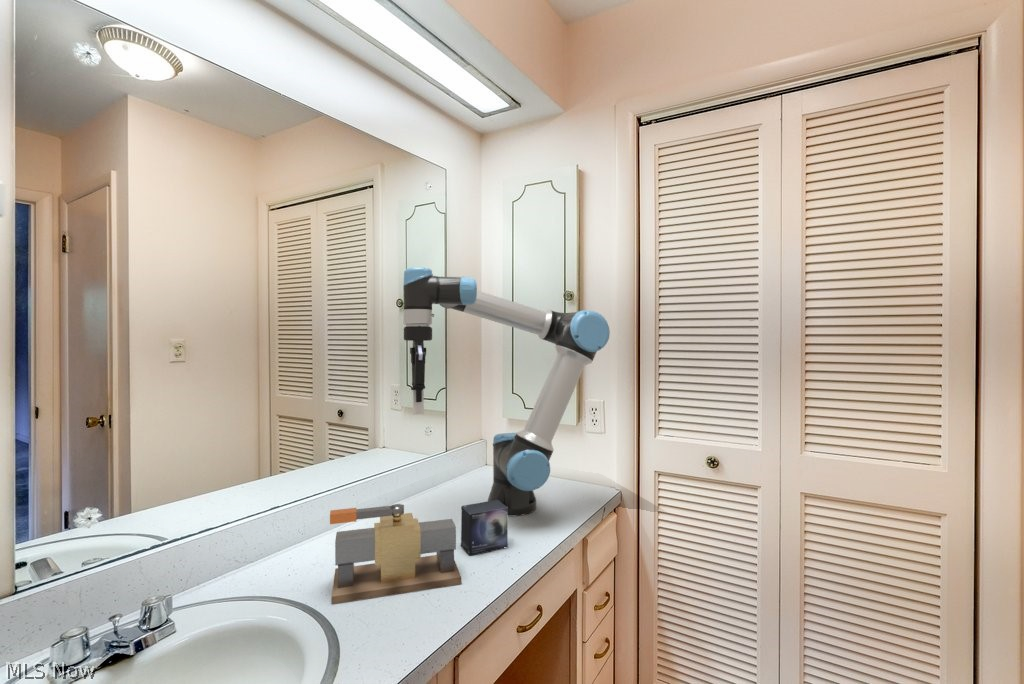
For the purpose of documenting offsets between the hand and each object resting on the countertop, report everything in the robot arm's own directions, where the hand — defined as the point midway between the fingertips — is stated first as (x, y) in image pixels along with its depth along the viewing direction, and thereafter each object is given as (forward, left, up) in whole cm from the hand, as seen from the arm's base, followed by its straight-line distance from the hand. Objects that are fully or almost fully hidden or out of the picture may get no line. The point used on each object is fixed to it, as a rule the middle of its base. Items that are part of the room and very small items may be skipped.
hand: (418, 413), depth 127 cm
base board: (+7, +23, -32) cm, 40 cm away
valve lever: (+13, +23, -18) cm, 32 cm away
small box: (-15, +13, -33) cm, 38 cm away
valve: (+7, +23, -31) cm, 39 cm away
